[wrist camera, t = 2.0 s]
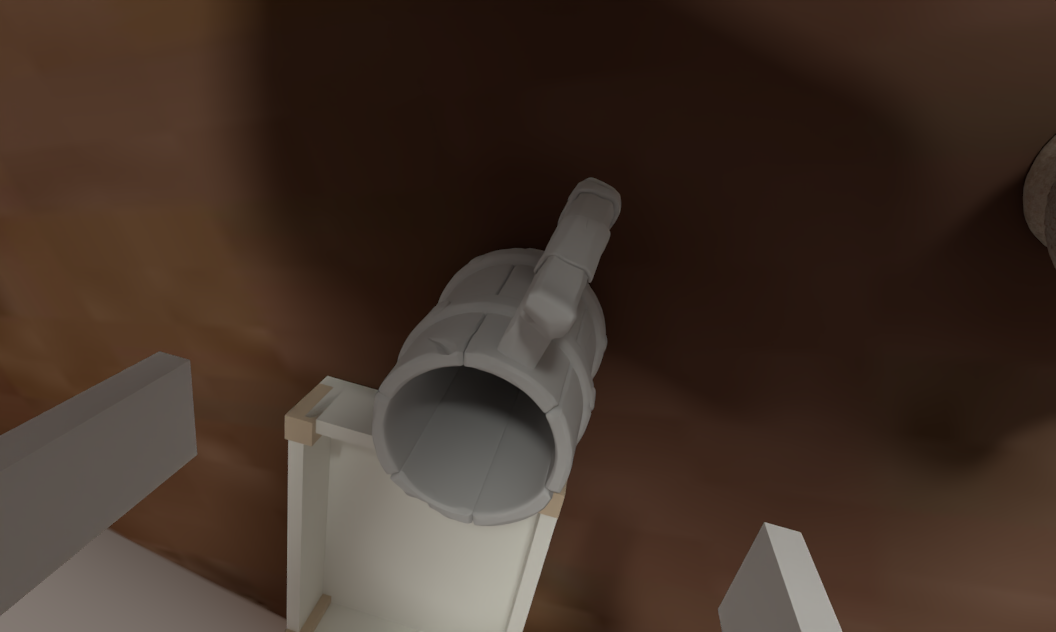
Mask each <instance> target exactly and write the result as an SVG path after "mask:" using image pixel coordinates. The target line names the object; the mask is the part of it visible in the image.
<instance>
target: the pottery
mask: <svg viewBox="0 0 1056 632" xmlns="http://www.w3.org/2000/svg"><path fill="white" fill-rule="evenodd" d="M1023 211H1024V216H1025V220H1026V222H1027V224H1028V227H1029V229H1030V230H1031V231H1032V233H1033V234H1034V235H1035V237H1036V238H1038V240H1040V241H1041V242H1042V244H1043V245H1044V246H1046V247H1047V248H1048V251H1049V256H1050V258H1051V259H1052V262H1053V265H1054V267H1055V269H1056V135H1055V136H1054V137H1053V138H1052V139H1051V140H1050V141H1049V142H1048V143H1047V144H1046V145H1045V146H1044V147H1043V149H1042V150H1041V151H1040V153H1039V154H1038V156H1037V157H1036V159H1035V161H1034V163H1033V165H1032V166H1031V168H1030V171H1029V173H1028V174H1027V177H1026V180H1025V183H1024V188H1023Z"/></svg>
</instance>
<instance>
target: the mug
mask: <svg viewBox="0 0 1056 632" xmlns="http://www.w3.org/2000/svg"><path fill="white" fill-rule="evenodd" d="M620 211H621V197H620V194H619V193H618V192H617V191H616V190H615V189H614V188H613V187H612V186H610V185H608V184H606V183H604V182H602V181H600V180H598V179H595V178H592V177H590V178H587V179H585V180H584V181H582V182H579V183H578V184H577V186H576V187H575V189H574V190H573V191H572V193H571V194H570V196H569V198H568V202H567V203H566V205H565V207H564V209H563V211H562V213H561V215H560V218H559V220H558V226H557V228H556V230H555V232H554V233H553V235H552V237H551V239H550V241H549V243H548V245H547V247H546V249H545V251H542V250H538V249H533V248H527V249H523V248H511V249H502V250H497V251H493V252H490V253H487V254H484V255H481V256H478V257H475V258H474V259H472V260H471V261H470V262H469V263H468V264H466V265H465V266H464V267H463V268H461V269H460V270H459V271H458V272H457V273H456V274H455V275H454V276H453V278H452V279H451V280H450V281H449V283H448V284H447V286H446V287H445V289H444V291H443V292H442V294H441V296H440V298H439V301H438V304H437V305H436V306H435V307H434V308H433V309H432V310H431V312H429V314H428V315H427V316H426V317H425V318H424V319H423V320H422V321H421V322H420V323H419V324H418V325H417V326H416V327H415V328H414V330H413V331H412V332H411V333H410V335H409V336H408V338H407V339H406V341H405V343H404V345H403V347H402V349H401V351H400V354H399V356H398V360H397V364H396V365H395V366H394V368H393V369H392V370H391V372H390V373H389V374H388V376H387V377H386V378H385V380H384V381H383V382H382V384H381V386H380V387H379V391H378V392H377V393H376V395H375V398H374V406H373V421H372V437H373V443H374V446H375V450H376V455H377V458H378V460H379V462H380V464H381V466H382V468H383V469H384V471H385V472H386V474H392V475H391V477H390V479H391V480H392V481H393V482H394V483H395V484H396V485H398V486H399V487H400V488H401V489H402V490H403V491H404V492H405V493H406V495H408V496H410V497H415V498H418V499H420V500H421V501H424V502H426V503H428V505H429V507H430V508H432V509H434V510H436V511H438V512H439V513H441V514H442V515H443V516H445V517H447V518H449V519H453V520H456V521H459V522H463V523H467V524H469V523H472V521H473V522H474V525H479V526H497V525H505V524H510V523H514V522H518V521H521V520H524V519H527V518H529V517H531V516H533V515H535V514H537V513H538V512H540V511H541V510H542V509H544V508H545V507H546V506H547V505H548V503H549V502H550V500H551V499H552V497H553V493H554V492H556V493H560V492H561V491H562V489H563V487H564V485H565V483H566V481H567V479H568V477H569V474H570V471H571V467H572V463H573V458H574V453H575V449H576V445H577V444H578V442H579V441H580V439H581V438H582V436H583V434H584V432H585V430H586V427H587V425H588V422H589V419H590V416H591V410H593V409H594V402H595V395H596V390H595V388H594V384H593V380H592V379H593V378H594V376H595V375H596V373H597V371H598V369H599V366H600V364H601V361H602V358H603V353H604V351H605V350H606V347H607V336H606V326H605V319H604V315H603V311H602V308H601V305H600V303H599V301H598V299H597V297H596V295H595V293H594V292H593V290H592V289H591V287H590V285H589V284H588V283H591V281H592V279H593V277H594V274H595V271H596V269H597V266H598V263H599V260H600V257H601V255H602V253H603V251H604V250H605V247H606V245H607V243H608V241H609V238H610V231H609V230H610V229H611V227H612V226H613V225H614V223H615V221H616V220H617V218H618V216H619V214H620Z"/></svg>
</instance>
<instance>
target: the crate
mask: <svg viewBox="0 0 1056 632" xmlns="http://www.w3.org/2000/svg"><path fill="white" fill-rule="evenodd" d="M378 391H379V390H376V389H373V388H369V387H365V386H362V385H358V384H355V383H351V382H348V381H344V380H340V379H337V378H333V377H330V376H327V377H326V378H325V379H323V380H322V381H321V382H320V383H319V384H318V385H317V386H316V387H315V388H314V389H313V390H312V391H310V392H309V393H308V394H307V395H306V396H305V397H304V398H303V399H302V400H301V401H300V402H299V403H297V404H296V405H295V406H294V407H293V408H292V409H291V410H290V411H289V412H288V413H287V414H286V415H285V439H287V440H288V533H287V629H286V630H285V632H523V628H524V625H525V622H526V618H527V615H528V612H529V609H530V605H531V602H532V599H533V596H534V592H535V589H536V586H537V583H538V579H539V576H540V573H541V570H542V566H543V563H544V560H545V557H546V553H547V550H548V547H549V544H550V540H551V537H552V534H553V531H554V527H555V524H556V521H557V518H558V517H559V513H560V510H561V507H562V504H563V500H564V497H565V492H566V485H567V481H566V483H565V485H564V487H563V489H562V491H561V492H560V493H556V492H554V493H553V497H552V499H551V500H550V502H549V503H548V505H547V506H546V507H545V508H544V509H542V510H541V511H540V512H538V513H537V514H535V515H533V516H531V517H529V518H527V519H524V520H521V521H518V522H514V523H510V524H505V525H497V526H479V525H474V522H473V521H472V523H469V524H467V523H463V522H459V521H456V520H453V519H449V518H447V517H445V516H443V515H442V514H441V513H439V512H438V511H436V510H434V509H432V508H430V507H429V505H428V503H426V502H424V501H421V500H420V499H418V498H415V497H410V496H408V495H406V493H405V492H404V491H403V490H402V489H401V488H400V487H399V486H398V485H396V484H395V483H394V482H393V481H392V480H391V479H390V477H391V475H392V474H386V472H385V471H384V469H383V468H382V466H381V464H380V462H379V460H378V458H377V455H376V450H375V446H374V443H373V437H372V421H373V406H374V398H375V395H376V393H377V392H378Z"/></svg>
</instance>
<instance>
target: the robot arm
mask: <svg viewBox="0 0 1056 632" xmlns="http://www.w3.org/2000/svg"><path fill="white" fill-rule="evenodd" d="M196 455H197V447H196V434H195V420H194V407H193V394H192V381H191V367H190V360H188V359H184V358H181V357H177V356H174V355H170V354H167V353H163V352H160V351H159V352H157V353H156V354H154V355H152V356H150V357H148V358H146V359H144V360H142V361H140V362H139V363H137V364H135V365H133V366H131V367H129V368H127V369H125V370H124V371H122V372H120V373H118V374H116V375H114V376H112V377H110V378H108V379H107V380H105V381H103V382H101V383H99V384H97V385H95V386H93V387H91V388H90V389H88V390H86V391H84V392H82V393H80V394H78V395H76V396H74V397H73V398H71V399H69V400H67V401H65V402H63V403H61V404H59V405H57V406H56V407H54V408H52V409H50V410H48V411H46V412H44V413H42V414H40V415H39V416H37V417H35V418H33V419H31V420H29V421H27V422H25V423H23V424H22V425H20V426H18V427H16V428H14V429H12V430H10V431H8V432H7V433H5V434H3V435H1V436H0V616H1V615H2V614H3V613H4V612H6V611H7V610H8V609H9V608H10V607H12V606H13V605H14V604H15V603H17V602H18V601H19V600H20V599H21V598H23V597H24V596H25V595H26V594H27V593H29V592H30V591H31V590H32V589H34V588H35V587H36V586H37V585H38V584H40V583H41V582H42V581H43V580H45V579H46V578H47V577H48V576H49V575H51V574H52V573H53V572H54V571H56V570H57V569H58V568H59V567H60V566H62V565H63V564H64V563H65V562H67V561H68V560H69V559H70V558H71V557H73V556H74V555H75V554H76V553H77V552H79V551H80V550H81V549H82V548H84V547H85V546H86V545H87V544H88V543H90V542H91V541H92V540H93V539H95V538H96V537H97V536H98V535H100V534H101V533H102V532H103V531H104V530H106V529H107V528H108V527H109V526H111V525H112V524H113V523H114V522H115V521H117V520H118V519H119V518H120V517H122V516H123V515H124V514H125V513H126V512H128V511H129V510H130V509H131V508H133V507H134V506H135V505H136V504H137V503H139V502H140V501H141V500H142V499H143V498H145V497H146V496H147V495H148V494H150V493H151V492H152V491H153V490H154V489H156V488H157V487H158V486H159V485H161V484H162V483H163V482H164V481H165V480H167V479H168V478H169V477H170V476H172V475H173V474H174V473H175V472H176V471H178V470H179V469H180V468H181V467H183V466H184V465H185V464H186V463H187V462H189V461H190V460H191V459H192V458H194V457H195V456H196ZM718 612H719V618H720V623H721V628H722V632H842V630H841V627H840V625H839V622H838V620H837V618H836V615H835V613H834V610H833V608H832V606H831V603H830V601H829V598H828V596H827V594H826V591H825V589H824V587H823V584H822V582H821V579H820V577H819V575H818V572H817V570H816V567H815V565H814V563H813V560H812V558H811V555H810V553H809V551H808V548H807V546H806V543H805V541H804V539H803V536H802V534H801V532H797V531H794V530H790V529H787V528H783V527H780V526H776V525H773V524H769V523H766V522H764V523H763V525H762V527H761V529H760V531H759V533H758V535H757V537H756V538H755V540H754V542H753V544H752V546H751V548H750V550H749V552H748V554H747V555H746V557H745V559H744V561H743V563H742V565H741V567H740V569H739V571H738V572H737V574H736V576H735V578H734V580H733V582H732V584H731V586H730V588H729V589H728V591H727V593H726V595H725V597H724V599H723V601H722V603H721V605H720V606H719V608H718Z"/></svg>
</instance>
